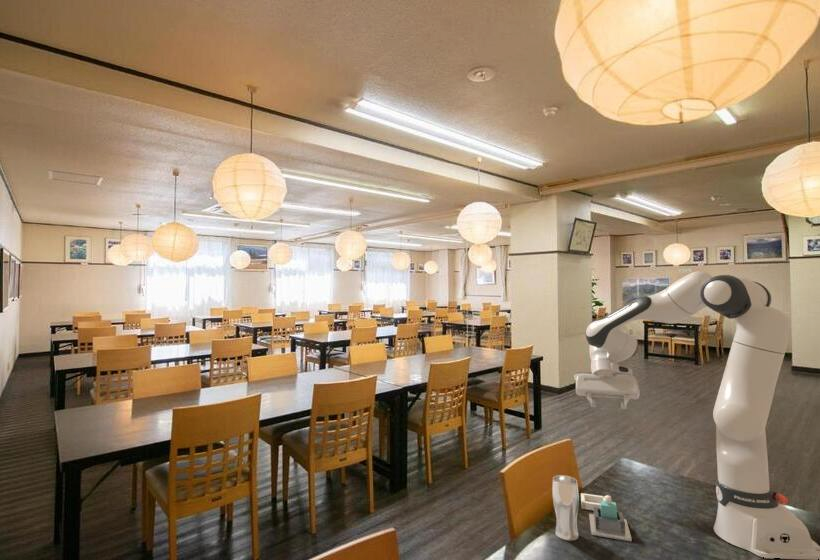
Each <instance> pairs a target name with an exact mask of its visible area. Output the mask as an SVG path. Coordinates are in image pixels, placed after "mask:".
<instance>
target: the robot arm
mask: <svg viewBox="0 0 820 560" xmlns="http://www.w3.org/2000/svg"><path fill="white" fill-rule="evenodd" d="M771 304H772V295H771V292H770V291H769V289H768V288H767V287H766V286H765V285H763V284H761V283H759V282H757V281H754V280H750V279H749V278H746V277H744V276H743V277H741V276H736V275H730V274H721V275H720V274H719V275H715V276H712V275H711V274H709V273H707V272H705V271H700V270H697V271H692V272H691V273H688V274H686V275H684V276H683V277H681V278H680V279H677V280H675V282H673V283H671V284H670V285H669V286H668V287H666V288H664V289H663V290H661V291H659V292H657V293H654V294H651V295H647V296H640V297H638V298H635V299H633V300H631V301H629V302H627V303H626V304H624V305H622V306H621V307H619V308H617V309H616V310H614V311H612V312H610V313H609V314H606V315H605V316H603V317H600V318H597V319H595V320H593V321H592V322H590V323H589V324H588V325H587V326H586V328H585V339H586V342H587V343H588V345H589V347H588V348H589V349H588V350H589V358H590V361H591V363H590V371H577V372H576V373H574V375H573V380H574V381H575V394H576V395H577V396H579V397H586V399H587V400H588V402H589V403H590V407H591V408H596V406H597V404H596V400H595V399H593V398H592V397H595V398H596V397H597V398H610V399H611V398H613V399H623V401H620V408H621V410H627V404H628V402H629V400H638V399H639V398H640V394H641V391H640V387H639V382H638V380H637V379H636V377H635V376H634V375H633V369H632V368H630V367H627V366H624V365H620V364H618V363H622V362H625V361H627V360H630V359H632V358H633V357H635V356H636V354H637V353H638V349H639V341H638V339H637V337H636V336H635V335H633V334H631V333H629V332H627V331H626V330H623V329H622V327H624V326H626V325H628V324H630V323H631V322H634V321H638V320H646V321H648V320H649V321H653V322H659V323H662V324H663V323H664V324H670V325H671V324H679V323H681V322H683V321H686V320H687V319H690V318H691V317H693V316H694V315H695V314H697V313H698V312H699V311H701V310H702V309H704V308H706V307H708V308H709V309H710V310H712V311H713V312H716V313H718V314H720V315H721V316H723V317H725V318H728V319H729V320H732V319H734V321H735V325H736V328H735V331H734V332H735V333H734V336H733V339H732V343H731V347H730V350H729V353H728V358H727V361H726V365H725V367H724V372H723V375H722V378H721V382H720V386H719V389H718V393H717V396H716V400H715V402H714V407H713V410H712V411H713V412H712V418H713V421H714V423H715V430H716V431H715V438H716V441H715V443H716V445H715V446H716V449H715V451H716V464H717V466H716V467H717V468H716V470H717V478H716V479H715V481H716V485H715V486H716V487H715V492H716V500H717V512H716V513H717V514H716V516H715V517H716V519H715V522H714V525H713V531H714V533H715V534H716V535H717V536H718V537H719V538H720V539H722V540H723V541H725V542H727V543H729V544H731V545H733V546H736V547H738V548H740V549H743V550H746V551H749V552H750V553H752V554H754V555H756V556H758V557H760V558H763V557H764V559H774V558H780V559H781V560H785V559H786V560H818V559H819V560H820V545H819V544H818V543H817V542H816V541H814V540H813V539H812V537H811V534H810V532H809V529H808V528H807V526H806V525H805V524H804V522H802V521H801V519H799V518H798V517H797V516H795V515H794V514H793V513H792V512H791V511H789V510H788V509H787V508H785V507H784V506H782V505H787V504H788V503H789V499H788V498H787V497H786V496H784V495H783V494H781V493H778V492H777V491H776V490H775V489H773V488H771V487H770V478H769V477H770V475H769V459H768V448H767V434H766V426H767V423H768V418H769V415H770V411H771V408H772V407H771V406H772V403H773V400H774V399H773V398H774V395H775V389H776V386H777V382H778V378H779V375H780V372H781V369H782V365H783V361H784V357H785V354H786V351H787V347H788V342H789V335H790V318H789V317H788V315H787V314H785V313H784V312H783V311H781V310H779V309H777V308H774V307H770V306H771ZM780 559H779V560H780Z"/></svg>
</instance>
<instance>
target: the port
mask: <svg viewBox="0 0 820 560" xmlns="http://www.w3.org/2000/svg"><path fill="white" fill-rule="evenodd" d="M623 514H624V513H623V510H618V509H617V519H611V518H604V517H601V508H598V507H594V511H593V513H588V518H589V526H590V533H591V535H590V536H595V537H601V538H602V537H603V538H608V539H615V540H619V541H625V542H631V543H632V535H631V531H630V529H629V525H628V522H627V519H626V518H624V515H623Z"/></svg>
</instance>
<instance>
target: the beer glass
mask: <svg viewBox="0 0 820 560" xmlns="http://www.w3.org/2000/svg"><path fill="white" fill-rule="evenodd" d="M551 489H552V494H551V495H552V501H553V503H552V504H553V508H554V513H555V517H556V518H555V519H556V523H555V524H556V525H555V535H556V536H557V537H558V538H559V539H561V540H565V541H567V542H570V541H571V542H572V541H576V540H578V539H579V535H580V534H579V531H578V530H579V529H578V525H577V524H578V523H577V521H578V519H577V518H578V512H579V503H580V501H579V500H580V499H579V497H580V495H579V493H580V492H579V486H578V480H577V479H576V478H575V477H572V476H569V475H565V474H558V475H554V476H553V477H552V488H551Z"/></svg>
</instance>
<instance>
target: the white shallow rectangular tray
mask: <svg viewBox="0 0 820 560" xmlns="http://www.w3.org/2000/svg"><path fill="white" fill-rule="evenodd" d="M605 496H606V495H598V494H597V495H596V494H591V493H590V494H589V493H585V492H584V493H583V492H581V493H580V501H581V502H580V503H581V504H580V505H581V509H582V510H588V511H593V512H594V507H598V508H601V504H600V500H602V501H605Z"/></svg>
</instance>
